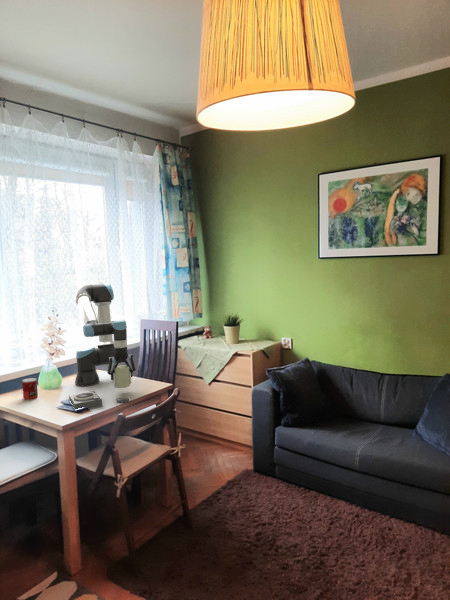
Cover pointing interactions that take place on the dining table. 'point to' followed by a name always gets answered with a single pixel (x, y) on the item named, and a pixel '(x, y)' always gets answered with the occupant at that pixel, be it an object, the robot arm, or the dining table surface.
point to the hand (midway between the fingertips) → (122, 384)
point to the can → (122, 376)
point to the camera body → (86, 400)
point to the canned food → (30, 388)
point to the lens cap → (123, 400)
